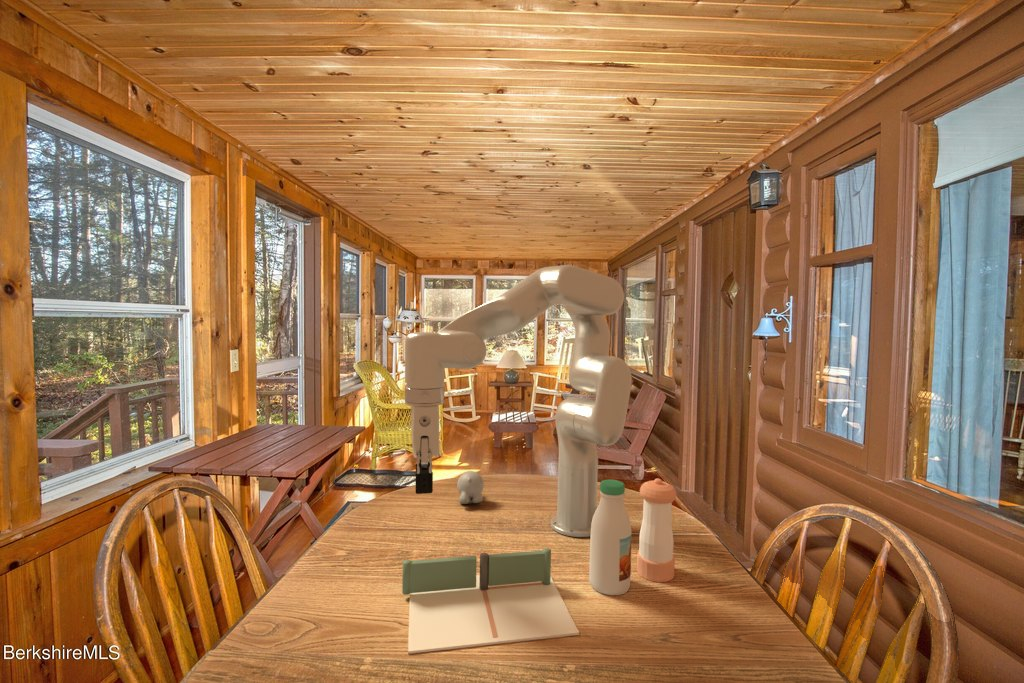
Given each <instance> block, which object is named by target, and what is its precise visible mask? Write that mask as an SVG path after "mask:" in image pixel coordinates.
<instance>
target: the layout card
mask: <svg viewBox="0 0 1024 683" xmlns="http://www.w3.org/2000/svg"><path fill="white" fill-rule="evenodd" d="M479 587H480V574H476V587H475V588H464V589H453V590H441V591H430V592H419V593H410V594H409V609H408V613H409V614H408V640H407V642H408V643H407V644H408V645H407V654H409V655H411V654H421V653H427V652H439V651H447V650H455V649H464V648H474V647H483V646H491V645H499V644H509V643H519V642H525V641H526V642H528V641H537V640H545V639H546V640H547V639H554V638H561V637H562V638H564V637H570V636H571V637H572V636H579V635H580V632H579V630H578V628H577V626H576V623H575V621H574V620H573V618H572V615H571V614H570V612H569V610H568V607H567V606H566V604H565V602H564V600H563V598H562V596H561V594H560V592H559V590H558V587H557V586H556V584H555V582H554V580H553V578H552V576H551V577H550V585H543V583H542V582H531V583H520V584H509V585H497V586H488V590H482V591H481V590H480V589H479Z"/></svg>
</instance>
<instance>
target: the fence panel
mask: <svg viewBox="0 0 1024 683" xmlns="http://www.w3.org/2000/svg"><path fill="white" fill-rule="evenodd" d="M477 562H478V560H477V555H469V556H467V555H466V556H455V557H441V558H440V557H439V558H430V559H429V558H427V559H417V560H415V559H414V560H410V559H405V560H403V561H402V582H401V583H402V585H401V586H402V587H401V588H402V589H401V590H402V594H403V595H406V596H408V595H410V593H419V592H430V591H441V590H453V589H464V588H475V587H476V575H477Z"/></svg>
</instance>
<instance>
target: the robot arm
mask: <svg viewBox="0 0 1024 683" xmlns="http://www.w3.org/2000/svg"><path fill="white" fill-rule="evenodd" d="M624 301H625V292H624V288H623V287H622V285H621V284H620V282H618V281H617V279H615V278H613V277H610V276H608V275H604V274H601V273H598V272H595V271H592V270H589V269H587V268H583V267H580V266H576V265H572V264H561V265H555V266H554V265H552V266H545V267H542V268H539V269H537V270H535V271H533V272H532V273H530V274H529V275H528V276H526V277H524V278H523V279H522V280H520V281H519V282H518V283H517V284H515V285H513V286H512V287H511V288H509V289H508V290H506V291H505V292H503V293H502V294H501V295H500V294H499V296H497V297H496V298H493V299H490V300H489V301H487V302H485V303H483V304H482V305H479V306H478V307H475V308H473V309H472V310H469V311H467V312H465V313H463V314H461V315H460V316H458V317H456V318H455V319H454V320H452V321H451V322H449V323H448V324H446V325H445V326H443V327H442V328H440V330H437V332H433V331H431V332H430V331H429V332H428V331H426V332H425V331H419V332H417V331H415V332H410V333H408V334H407V336H406V337H405V342H404V343H405V344H404V404H405V405H406V406H410V417H411V418H410V426H411V428H410V429H411V444H412V453H413V455H412V456H413V457H414V458H415V459H416V463H415V494H417V495H421V494H433V490H434V488H433V482H434V480H433V479H434V476H433V475H434V472H433V460H432V459H433V457H435V458H439V457H440V409H439V408H440V406H442V405H444V404H445V369H457V370H471V369H474V368H476V367H478V366H480V365H481V364H482V363H483V362H484V360H485V358H486V356H487V346H486V343H485V341H486V340H488V339H491V338H494V337H495V338H496V337H499V336H504V335H507V334H508V335H509V334H511V333H513V332H517V331H519V330H523V328H525V327H526V326H527V325H529V324H530V323H532V322H533V321H534V320H536V319H537V317H539V316H540V315H542V314H543V313H544V312H546V311H547V310H549V309H550V308H552V307H553V306H556V305H562V307H563V308H564V310H565V311H566V313H567V314H568V315H569V317H570V319H571V321H572V323H573V326H574V333H575V334H574V343H573V348H572V353H571V359H570V365H569V371H568V372H569V373H568V382H569V385H570V386H571V387H572V389H574V390H575V391H578V392H580V393H585V394H589V395H594V396H595V400H593V399H589V398H585V397H577V396H571V397H568V398H565V399H564V400H562V401H561V402H560V403H559V404H558V406H557V407H556V411H555V415H554V417H555V420H554V422H555V428H556V436H557V443H558V458H557V459H558V460H557V462H558V464H557V466H558V467H557V469H558V470H557V501H556V502H557V505H556V508H557V509H556V514H554V515H553V516H552V517H551V518H550V527H551V528H552V530H553V531H555V532H557V533H559V534H561V535H564V536H569V537H573V538H574V537H575V538H588V537H590V536H591V523H592V518H593V515H594V513H595V511H596V509H597V507H598V473H599V472H598V470H599V469H598V468H599V455H598V454H599V453H598V448H597V445H598V446H603V447H607V446H612V445H615V443H617V442H618V441H619V439H620V438H621V437H622V435H623V432H624V429H625V424H626V421H627V420H626V417H627V414H628V407H629V401H630V396H631V390H632V382H633V379H632V373H631V369H630V367H629V365H628V363H627V362H626V361H625V360H624V359H622V358H621V357H617V356H613V355H612V356H611V355H609V350H610V344H611V343H610V342H611V330H610V327H609V324H608V322H607V319H606V317H605V316H611V315H613V314H615V313H617V312H618V311H620V309H621V308H622V306H623V304H624Z"/></svg>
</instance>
